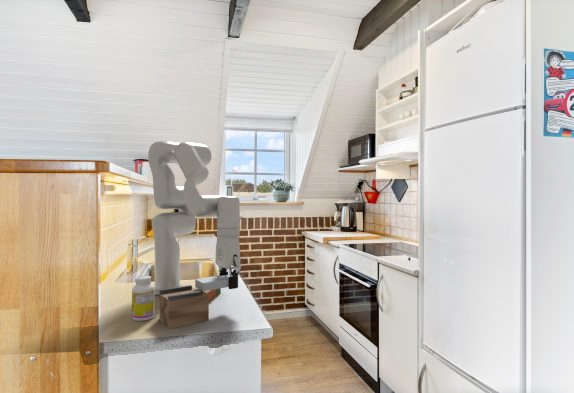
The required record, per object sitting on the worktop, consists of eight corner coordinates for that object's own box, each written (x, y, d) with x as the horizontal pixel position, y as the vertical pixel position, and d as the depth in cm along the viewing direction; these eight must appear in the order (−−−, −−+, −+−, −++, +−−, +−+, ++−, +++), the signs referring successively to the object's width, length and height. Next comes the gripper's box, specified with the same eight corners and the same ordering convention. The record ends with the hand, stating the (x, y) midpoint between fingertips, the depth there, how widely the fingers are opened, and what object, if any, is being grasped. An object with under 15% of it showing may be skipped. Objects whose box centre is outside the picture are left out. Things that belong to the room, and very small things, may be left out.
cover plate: (195, 286, 116) (195, 279, 116) (228, 281, 123) (228, 274, 123) (202, 291, 110) (202, 283, 110) (237, 285, 117) (237, 277, 117)
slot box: (159, 319, 111) (159, 289, 111) (196, 311, 118) (196, 283, 118) (169, 328, 103) (169, 297, 103) (208, 320, 110) (208, 290, 110)
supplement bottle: (136, 314, 115) (135, 275, 115) (157, 314, 115) (157, 274, 115) (128, 322, 108) (128, 280, 108) (151, 321, 109) (151, 279, 109)
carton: (183, 305, 125) (183, 293, 125) (200, 293, 141) (200, 282, 141) (206, 306, 124) (206, 294, 124) (221, 294, 140) (221, 283, 140)
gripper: (207, 231, 124) (207, 282, 124) (229, 236, 110) (229, 293, 110) (227, 230, 128) (227, 279, 128) (250, 234, 114) (251, 290, 114)
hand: (228, 285), depth 119 cm, fingers closed on cover plate, 6 cm apart
